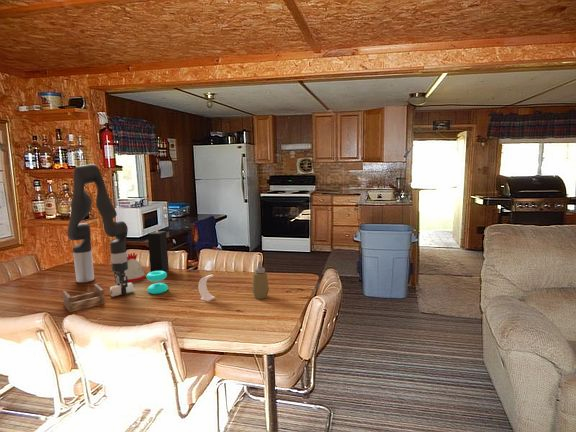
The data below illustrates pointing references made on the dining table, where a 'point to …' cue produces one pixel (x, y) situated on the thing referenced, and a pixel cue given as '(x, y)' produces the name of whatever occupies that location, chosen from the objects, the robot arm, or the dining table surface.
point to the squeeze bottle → (260, 282)
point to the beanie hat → (134, 269)
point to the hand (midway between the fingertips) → (122, 293)
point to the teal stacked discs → (157, 287)
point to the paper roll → (117, 289)
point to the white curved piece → (205, 289)
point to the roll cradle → (84, 299)
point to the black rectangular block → (158, 250)
